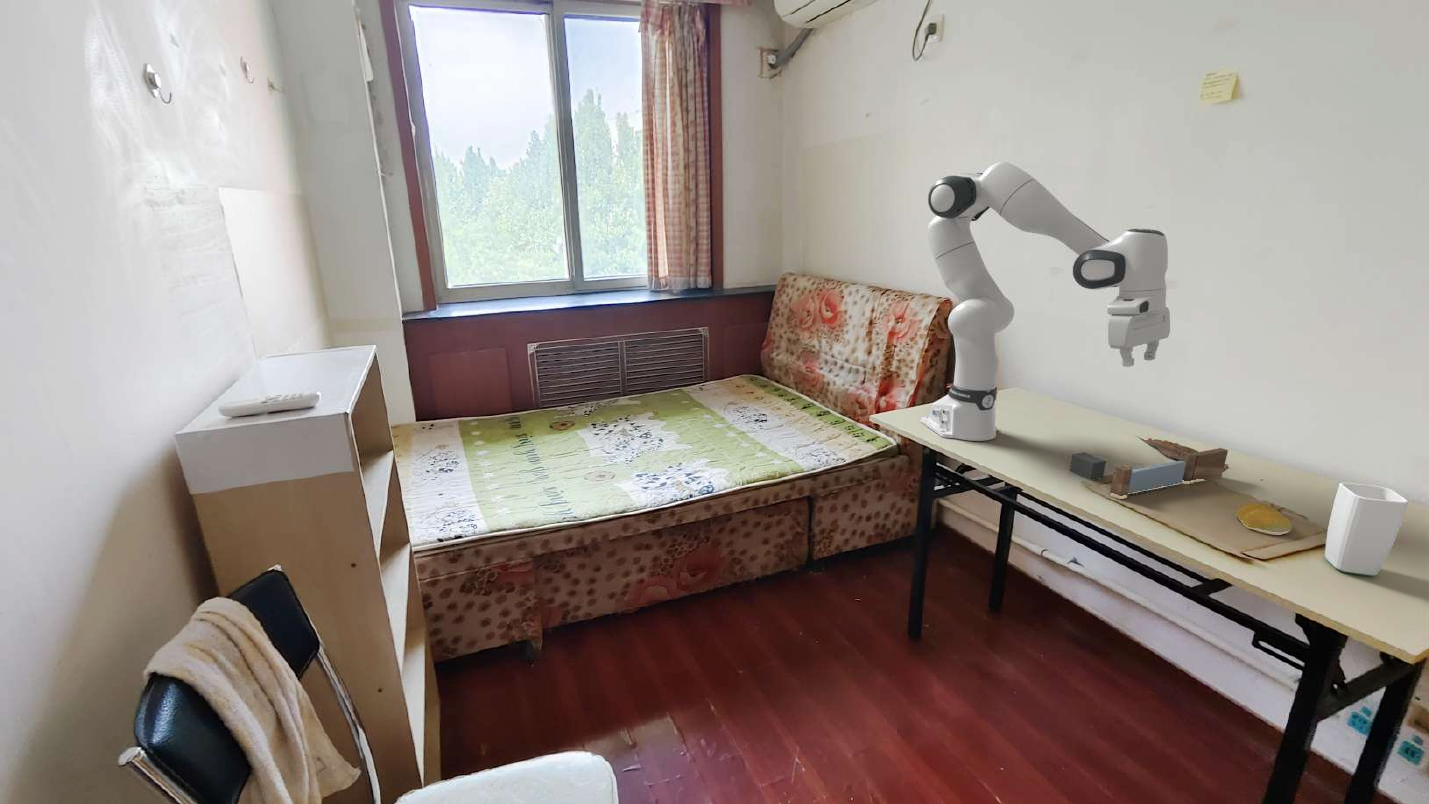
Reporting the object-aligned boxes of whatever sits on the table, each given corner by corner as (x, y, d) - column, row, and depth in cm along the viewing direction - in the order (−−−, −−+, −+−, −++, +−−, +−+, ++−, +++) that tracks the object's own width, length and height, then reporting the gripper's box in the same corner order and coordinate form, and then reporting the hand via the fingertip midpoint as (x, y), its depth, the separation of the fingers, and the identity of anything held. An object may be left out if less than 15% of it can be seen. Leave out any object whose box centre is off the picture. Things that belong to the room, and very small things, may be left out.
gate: (1121, 493, 144) (1126, 470, 143) (1176, 482, 150) (1180, 460, 148) (1126, 495, 143) (1131, 472, 142) (1181, 484, 149) (1186, 462, 147)
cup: (1333, 574, 113) (1357, 497, 108) (1314, 554, 119) (1335, 481, 115) (1387, 582, 110) (1413, 504, 106) (1364, 561, 117) (1388, 486, 112)
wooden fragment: (1241, 472, 156) (1242, 468, 156) (1198, 474, 155) (1199, 470, 155) (1161, 437, 181) (1161, 433, 180) (1124, 438, 180) (1125, 435, 179)
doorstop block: (1069, 471, 158) (1072, 454, 156) (1081, 469, 159) (1084, 452, 158) (1090, 480, 152) (1093, 463, 151) (1102, 478, 153) (1106, 460, 152)
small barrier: (1109, 495, 144) (1114, 466, 142) (1212, 474, 154) (1219, 447, 152) (1119, 499, 142) (1124, 470, 140) (1223, 478, 152) (1229, 450, 150)
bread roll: (1251, 535, 127) (1255, 517, 125) (1228, 515, 135) (1232, 497, 134) (1301, 540, 125) (1306, 521, 124) (1274, 519, 133) (1279, 501, 132)
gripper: (1150, 297, 152) (1147, 355, 155) (1102, 307, 142) (1100, 368, 145) (1180, 297, 147) (1176, 357, 150) (1133, 307, 137) (1130, 371, 139)
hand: (1138, 363), depth 147 cm, fingers open, 8 cm apart
